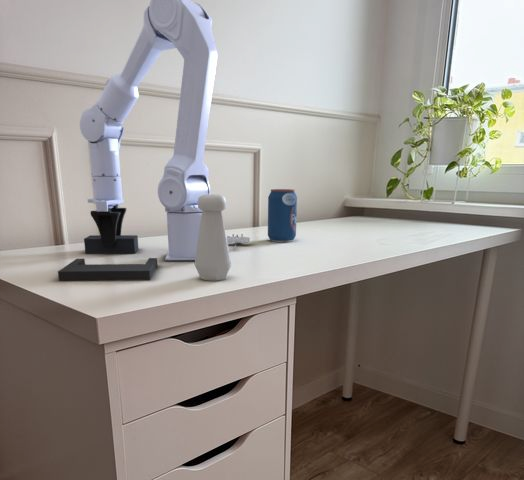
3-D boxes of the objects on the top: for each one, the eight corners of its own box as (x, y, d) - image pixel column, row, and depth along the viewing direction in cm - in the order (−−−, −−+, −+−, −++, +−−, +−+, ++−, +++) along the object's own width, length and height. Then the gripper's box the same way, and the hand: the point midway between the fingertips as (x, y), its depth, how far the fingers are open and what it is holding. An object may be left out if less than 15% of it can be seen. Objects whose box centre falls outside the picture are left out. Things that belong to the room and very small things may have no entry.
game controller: (246, 242, 123) (246, 231, 122) (259, 250, 113) (259, 238, 112) (223, 243, 122) (222, 232, 121) (233, 251, 111) (233, 238, 110)
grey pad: (138, 249, 112) (137, 235, 111) (135, 253, 107) (134, 238, 106) (91, 249, 111) (89, 235, 110) (85, 253, 106) (83, 238, 105)
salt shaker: (188, 279, 82) (185, 194, 78) (205, 273, 87) (203, 193, 83) (222, 283, 80) (220, 195, 76) (237, 276, 85) (236, 194, 81)
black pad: (157, 266, 93) (156, 258, 92) (150, 280, 82) (149, 270, 81) (77, 267, 92) (76, 258, 91) (58, 281, 80) (57, 271, 80)
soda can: (298, 242, 125) (299, 190, 121) (269, 242, 124) (270, 190, 120) (292, 238, 131) (294, 189, 127) (265, 238, 130) (266, 189, 126)
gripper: (93, 175, 110) (99, 240, 115) (76, 176, 97) (84, 249, 101) (127, 175, 111) (131, 239, 115) (115, 177, 97) (121, 249, 102)
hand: (112, 244), depth 108 cm, fingers closed on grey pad, 5 cm apart
